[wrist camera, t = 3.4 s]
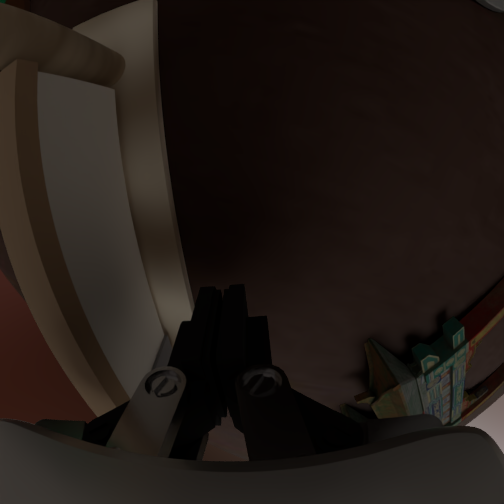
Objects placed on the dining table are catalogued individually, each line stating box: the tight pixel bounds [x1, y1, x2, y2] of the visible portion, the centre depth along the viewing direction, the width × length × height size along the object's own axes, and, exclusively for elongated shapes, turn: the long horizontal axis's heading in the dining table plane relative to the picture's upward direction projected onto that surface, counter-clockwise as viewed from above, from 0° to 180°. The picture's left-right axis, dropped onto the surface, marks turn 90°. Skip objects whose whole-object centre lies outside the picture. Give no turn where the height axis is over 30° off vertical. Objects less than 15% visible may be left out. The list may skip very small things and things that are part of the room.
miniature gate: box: [340, 278, 504, 426], centre depth 18 cm, size 27×6×30 cm
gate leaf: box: [0, 59, 172, 417], centre depth 10 cm, size 15×2×7 cm, turn 5°
